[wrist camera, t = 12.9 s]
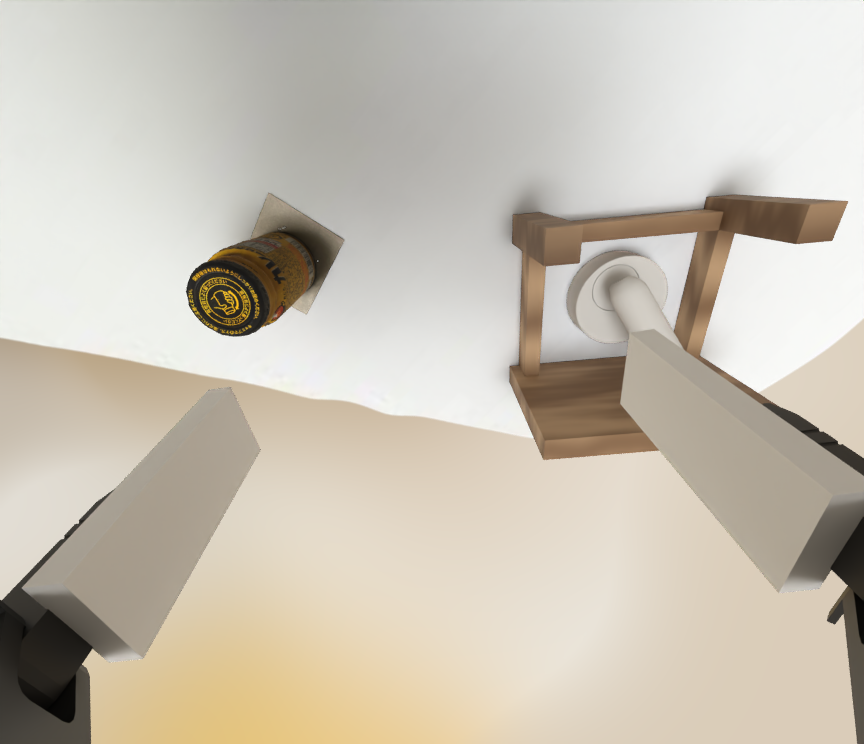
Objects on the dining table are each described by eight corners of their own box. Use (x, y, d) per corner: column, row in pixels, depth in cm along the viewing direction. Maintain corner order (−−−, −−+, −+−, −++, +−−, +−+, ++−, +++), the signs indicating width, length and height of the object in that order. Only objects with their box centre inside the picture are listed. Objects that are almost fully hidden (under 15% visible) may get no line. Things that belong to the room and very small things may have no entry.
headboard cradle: (512, 214, 34) (561, 234, 22) (734, 194, 33) (900, 204, 22) (509, 381, 42) (543, 459, 30) (687, 366, 41) (789, 439, 30)
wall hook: (634, 405, 32) (593, 313, 28) (589, 358, 41) (553, 282, 37) (735, 356, 30) (707, 250, 26) (666, 317, 39) (637, 232, 35)
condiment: (236, 275, 35) (157, 316, 25) (269, 192, 32) (195, 200, 22) (307, 313, 37) (262, 368, 27) (344, 239, 34) (311, 267, 24)
